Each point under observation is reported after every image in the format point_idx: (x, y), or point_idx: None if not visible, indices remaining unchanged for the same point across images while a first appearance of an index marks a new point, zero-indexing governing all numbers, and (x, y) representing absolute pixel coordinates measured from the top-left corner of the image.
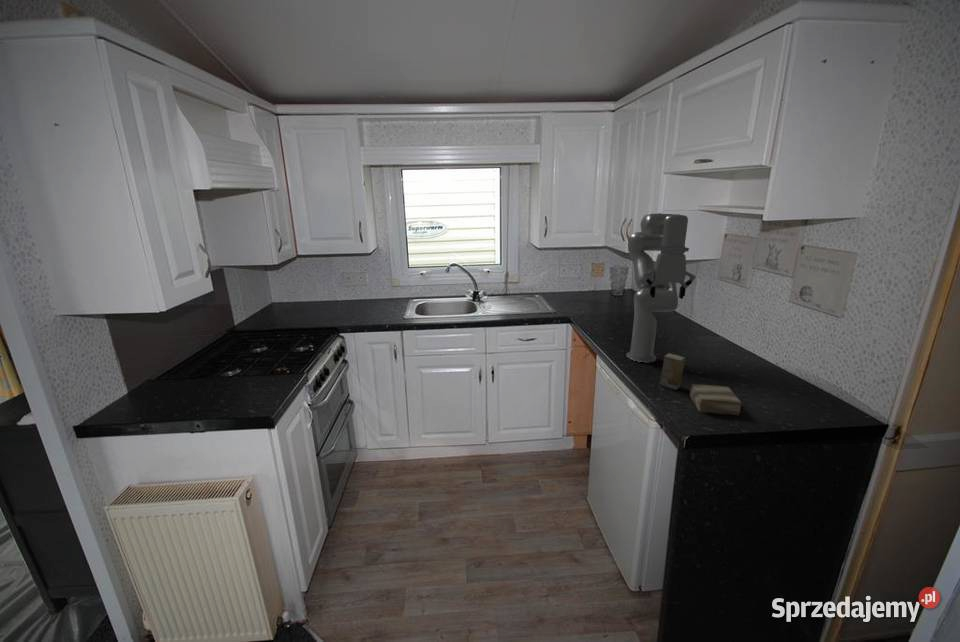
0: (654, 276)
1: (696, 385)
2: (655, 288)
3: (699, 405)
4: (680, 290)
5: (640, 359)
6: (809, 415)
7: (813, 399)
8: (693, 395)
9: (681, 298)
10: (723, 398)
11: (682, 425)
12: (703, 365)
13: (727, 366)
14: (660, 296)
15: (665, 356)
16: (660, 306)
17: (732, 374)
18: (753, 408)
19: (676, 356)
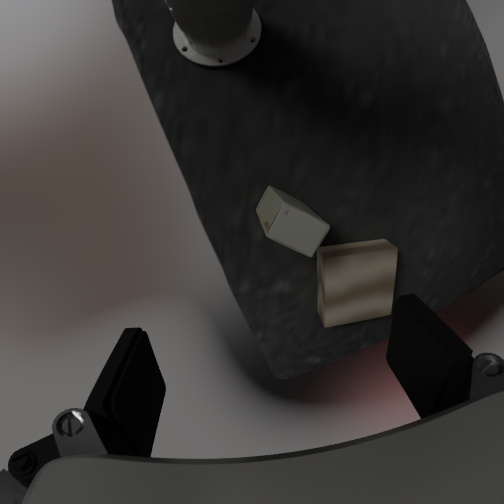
0: (34, 490)
1: (333, 264)
2: (149, 455)
3: (320, 312)
4: (424, 370)
5: (211, 57)
6: (470, 262)
7: (498, 199)
8: (320, 274)
9: (390, 362)
10: (367, 309)
11: (276, 363)
12: (380, 51)
13: (426, 55)
14: None
15: (267, 236)
16: None
17: (429, 101)
18: (413, 266)
19: (303, 228)
